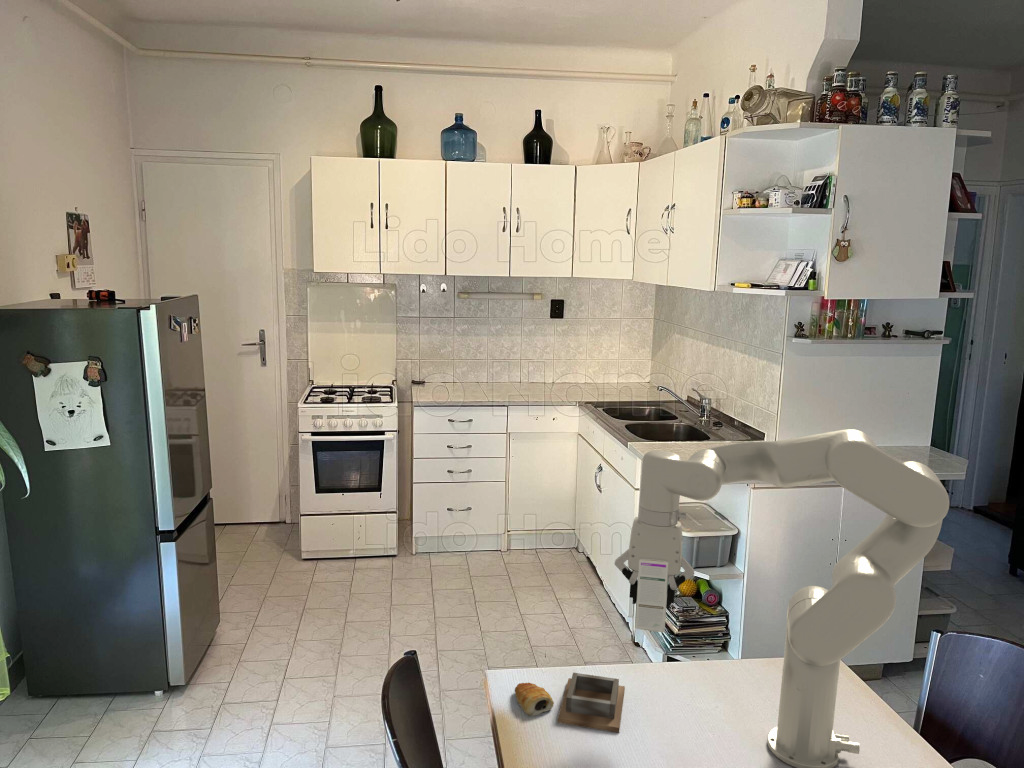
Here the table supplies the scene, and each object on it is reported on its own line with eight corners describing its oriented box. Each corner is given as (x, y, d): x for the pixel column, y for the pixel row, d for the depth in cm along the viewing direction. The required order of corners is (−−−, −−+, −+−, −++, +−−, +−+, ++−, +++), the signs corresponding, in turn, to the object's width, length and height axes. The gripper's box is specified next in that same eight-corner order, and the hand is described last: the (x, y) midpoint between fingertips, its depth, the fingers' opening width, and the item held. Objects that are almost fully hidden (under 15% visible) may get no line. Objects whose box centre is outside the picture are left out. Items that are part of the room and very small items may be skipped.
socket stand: (624, 690, 160) (625, 673, 159) (619, 732, 145) (620, 713, 145) (568, 682, 162) (569, 665, 162) (557, 722, 148) (558, 704, 147)
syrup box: (664, 633, 145) (670, 562, 143) (633, 629, 147) (639, 558, 144) (665, 619, 151) (670, 551, 149) (635, 615, 152) (640, 547, 150)
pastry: (506, 694, 157) (507, 677, 157) (535, 687, 160) (535, 671, 160) (527, 719, 149) (528, 701, 149) (557, 711, 152) (558, 693, 152)
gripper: (703, 514, 147) (695, 601, 150) (614, 504, 151) (609, 589, 153) (704, 527, 140) (696, 618, 143) (611, 516, 143) (605, 605, 146)
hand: (651, 602), depth 148 cm, fingers closed on syrup box, 5 cm apart
